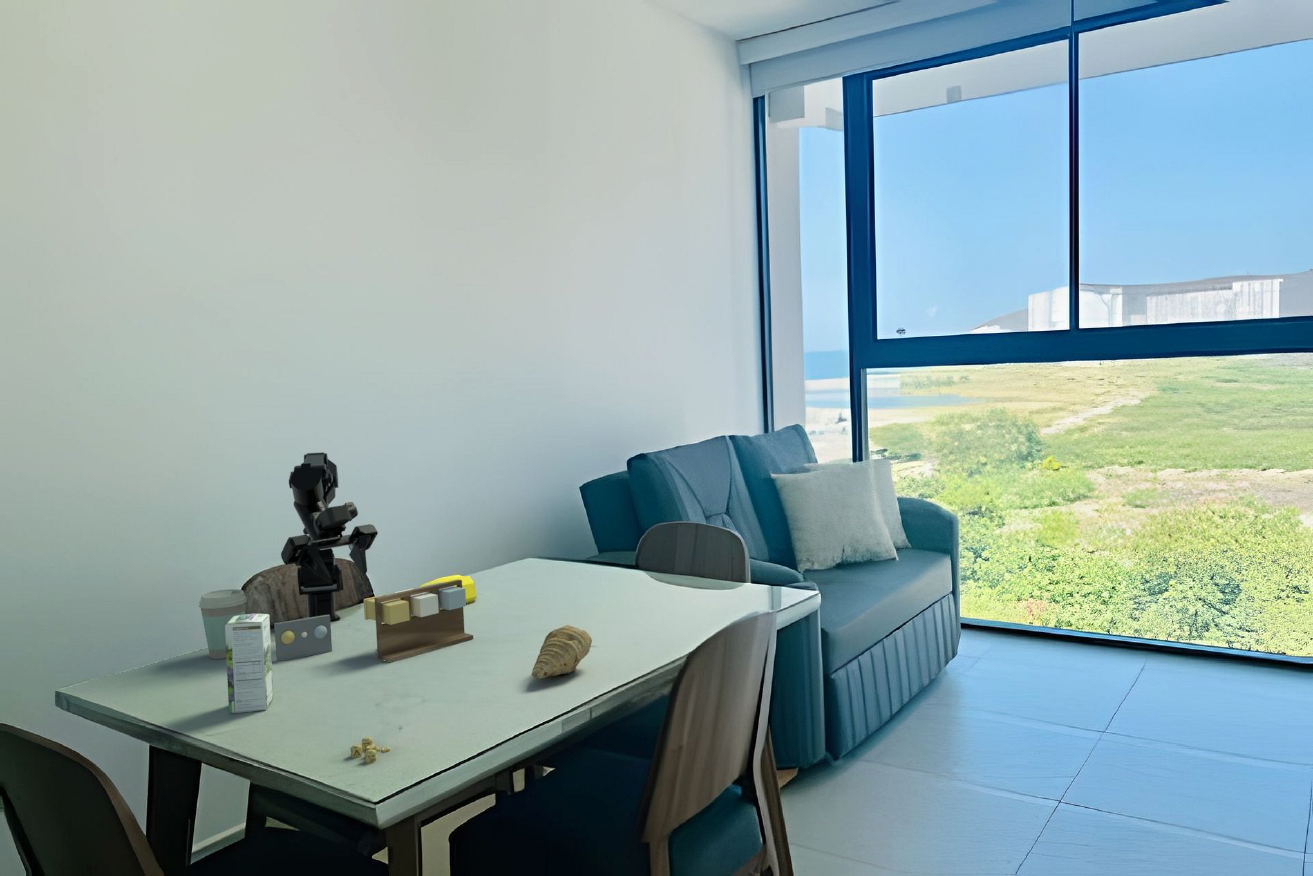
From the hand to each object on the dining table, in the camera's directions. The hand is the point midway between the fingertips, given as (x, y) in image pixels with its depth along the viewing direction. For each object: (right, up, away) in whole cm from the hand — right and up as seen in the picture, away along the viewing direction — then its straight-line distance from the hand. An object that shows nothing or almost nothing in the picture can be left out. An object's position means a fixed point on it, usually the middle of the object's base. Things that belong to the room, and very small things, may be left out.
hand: (347, 576), depth 191 cm
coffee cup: (-22, -15, -4) cm, 27 cm away
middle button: (+15, -7, -3) cm, 16 cm away
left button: (+10, -7, -8) cm, 15 cm away
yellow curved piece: (+13, -11, +30) cm, 34 cm away
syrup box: (-4, -16, -35) cm, 39 cm away
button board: (+17, -13, -5) cm, 22 cm away
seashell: (+44, -14, -25) cm, 53 cm away
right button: (+19, -6, +1) cm, 20 cm away
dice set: (+21, -17, -57) cm, 63 cm away
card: (-6, -14, -7) cm, 17 cm away
